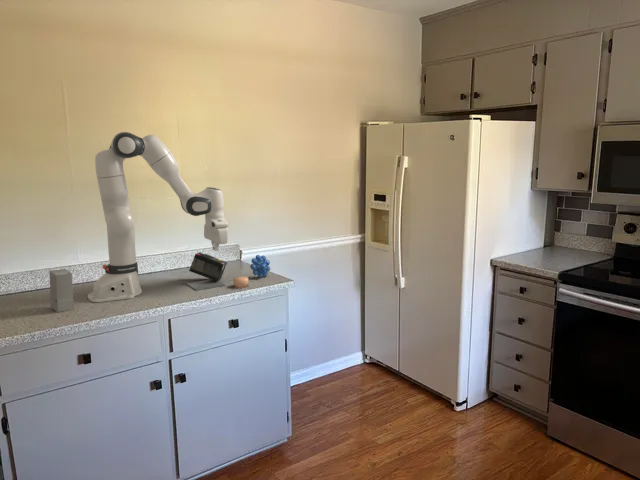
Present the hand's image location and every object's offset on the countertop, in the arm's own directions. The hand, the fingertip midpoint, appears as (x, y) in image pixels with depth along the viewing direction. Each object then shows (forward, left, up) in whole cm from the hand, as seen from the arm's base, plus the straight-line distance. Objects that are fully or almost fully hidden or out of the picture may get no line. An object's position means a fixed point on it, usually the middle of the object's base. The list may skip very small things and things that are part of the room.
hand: (215, 250), depth 232 cm
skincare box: (-67, +1, -17) cm, 69 cm away
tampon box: (+4, +2, -12) cm, 13 cm away
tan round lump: (+7, -12, -17) cm, 21 cm away
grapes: (+22, -4, -17) cm, 28 cm away
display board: (-6, 0, -16) cm, 17 cm away
